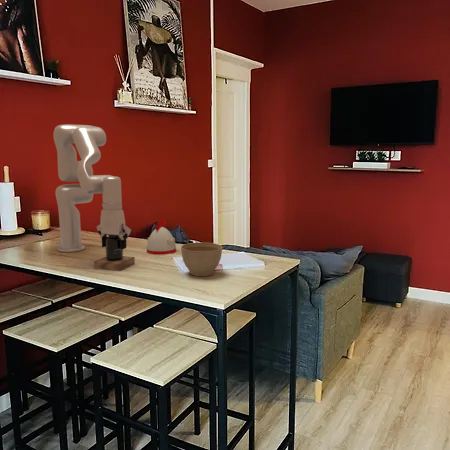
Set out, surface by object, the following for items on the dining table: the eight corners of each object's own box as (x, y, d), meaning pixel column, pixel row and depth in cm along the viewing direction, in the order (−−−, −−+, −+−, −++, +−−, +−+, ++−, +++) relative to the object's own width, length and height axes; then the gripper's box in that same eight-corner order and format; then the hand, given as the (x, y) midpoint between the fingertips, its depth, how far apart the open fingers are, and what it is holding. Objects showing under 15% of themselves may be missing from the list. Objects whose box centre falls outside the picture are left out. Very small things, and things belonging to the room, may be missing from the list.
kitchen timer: (181, 250, 224) (181, 219, 221) (165, 256, 212) (164, 223, 209) (157, 247, 230) (157, 217, 228) (140, 252, 218) (139, 221, 215)
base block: (94, 268, 189) (94, 261, 189) (110, 261, 201) (109, 255, 200) (120, 270, 186) (120, 263, 185) (134, 263, 197) (134, 256, 197)
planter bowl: (189, 281, 172) (189, 252, 170) (176, 270, 186) (175, 244, 185) (228, 276, 178) (228, 248, 176) (213, 266, 193) (213, 241, 191)
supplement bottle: (118, 261, 189) (117, 232, 187) (103, 260, 190) (102, 231, 188) (125, 257, 196) (124, 229, 194) (110, 256, 197) (109, 229, 195)
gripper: (90, 206, 190) (92, 247, 193) (123, 209, 182) (124, 251, 185) (102, 204, 196) (104, 244, 199) (135, 207, 189) (136, 248, 191)
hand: (114, 247), depth 192 cm, fingers open, 9 cm apart
